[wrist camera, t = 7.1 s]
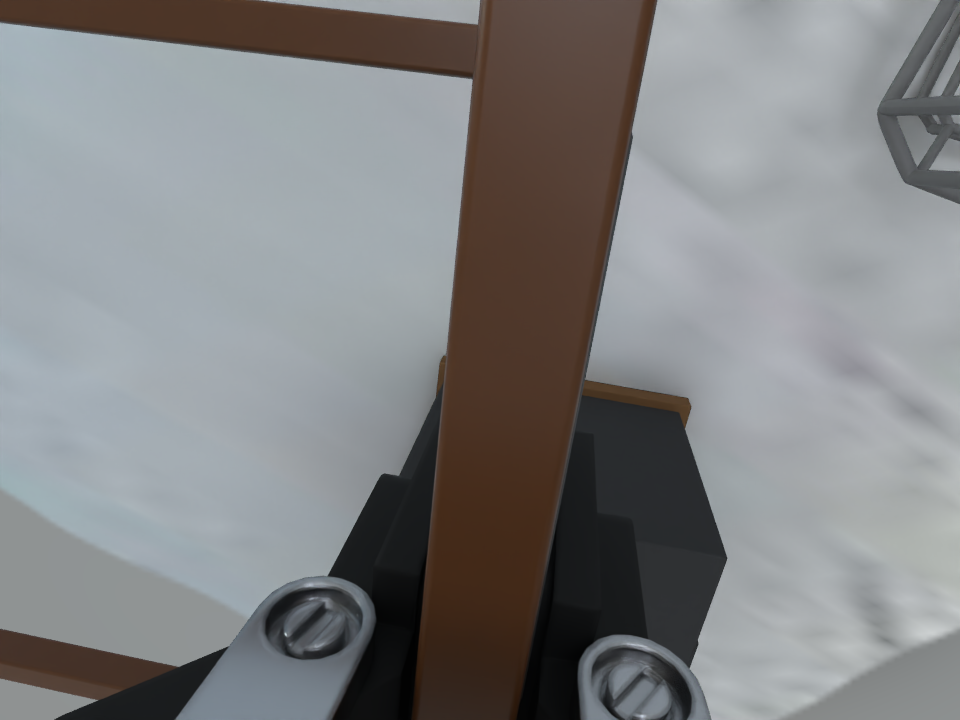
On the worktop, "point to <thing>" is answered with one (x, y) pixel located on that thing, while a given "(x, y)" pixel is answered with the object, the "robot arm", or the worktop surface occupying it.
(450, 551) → the brown angular bar frame
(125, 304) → the worktop surface
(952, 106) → the geometric lantern
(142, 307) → the worktop surface
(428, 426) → the wood-trimmed dark box
